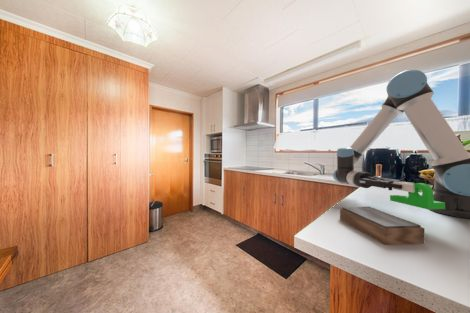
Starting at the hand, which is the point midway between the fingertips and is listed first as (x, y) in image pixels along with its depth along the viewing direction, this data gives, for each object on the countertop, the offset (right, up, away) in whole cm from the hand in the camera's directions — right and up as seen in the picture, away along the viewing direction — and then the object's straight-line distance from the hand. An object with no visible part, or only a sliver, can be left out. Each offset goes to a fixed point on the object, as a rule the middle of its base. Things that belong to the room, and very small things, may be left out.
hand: (417, 188), depth 56 cm
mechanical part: (+2, -6, +2) cm, 7 cm away
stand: (-15, -14, -1) cm, 20 cm away
